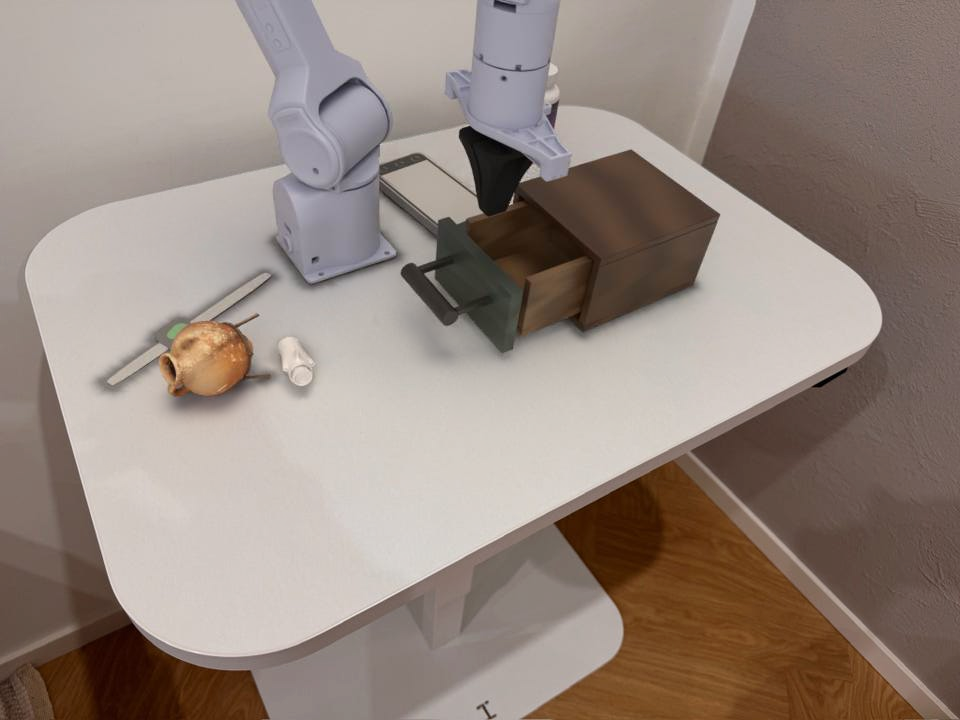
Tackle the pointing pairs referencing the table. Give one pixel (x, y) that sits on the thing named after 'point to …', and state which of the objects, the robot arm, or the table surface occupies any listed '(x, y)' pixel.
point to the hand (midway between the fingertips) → (492, 209)
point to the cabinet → (625, 231)
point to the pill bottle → (552, 93)
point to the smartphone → (427, 191)
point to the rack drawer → (504, 274)
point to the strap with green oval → (172, 329)
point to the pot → (208, 358)
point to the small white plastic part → (295, 361)
